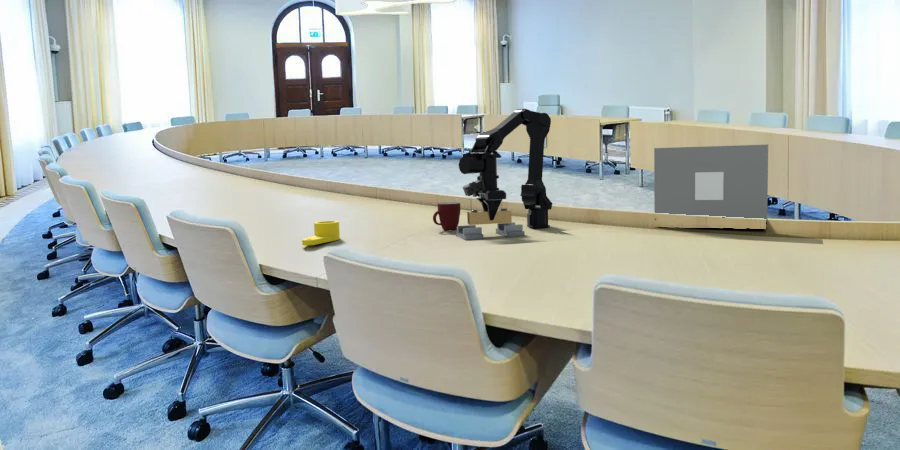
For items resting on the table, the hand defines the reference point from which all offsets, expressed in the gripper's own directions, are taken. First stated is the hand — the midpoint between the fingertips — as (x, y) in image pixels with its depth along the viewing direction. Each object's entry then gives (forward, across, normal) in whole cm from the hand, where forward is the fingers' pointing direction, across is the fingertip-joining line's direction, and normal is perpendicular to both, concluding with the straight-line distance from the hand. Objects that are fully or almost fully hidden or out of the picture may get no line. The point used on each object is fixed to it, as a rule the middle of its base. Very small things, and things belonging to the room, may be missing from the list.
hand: (489, 219), depth 228 cm
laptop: (+6, +8, +78) cm, 79 cm away
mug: (+6, -19, -10) cm, 22 cm away
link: (+1, 0, 0) cm, 1 cm away
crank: (+6, -17, -55) cm, 57 cm away
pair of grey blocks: (+5, 0, 0) cm, 5 cm away
